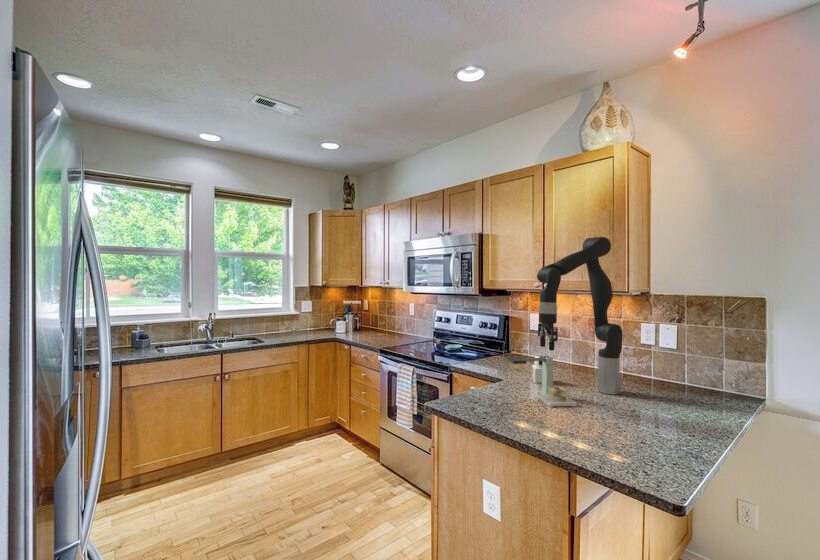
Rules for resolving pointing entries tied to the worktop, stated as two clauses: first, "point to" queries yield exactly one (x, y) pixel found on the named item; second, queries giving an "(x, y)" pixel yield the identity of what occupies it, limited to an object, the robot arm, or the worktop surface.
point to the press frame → (551, 385)
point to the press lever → (524, 359)
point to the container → (537, 371)
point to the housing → (557, 393)
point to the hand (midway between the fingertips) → (546, 348)
